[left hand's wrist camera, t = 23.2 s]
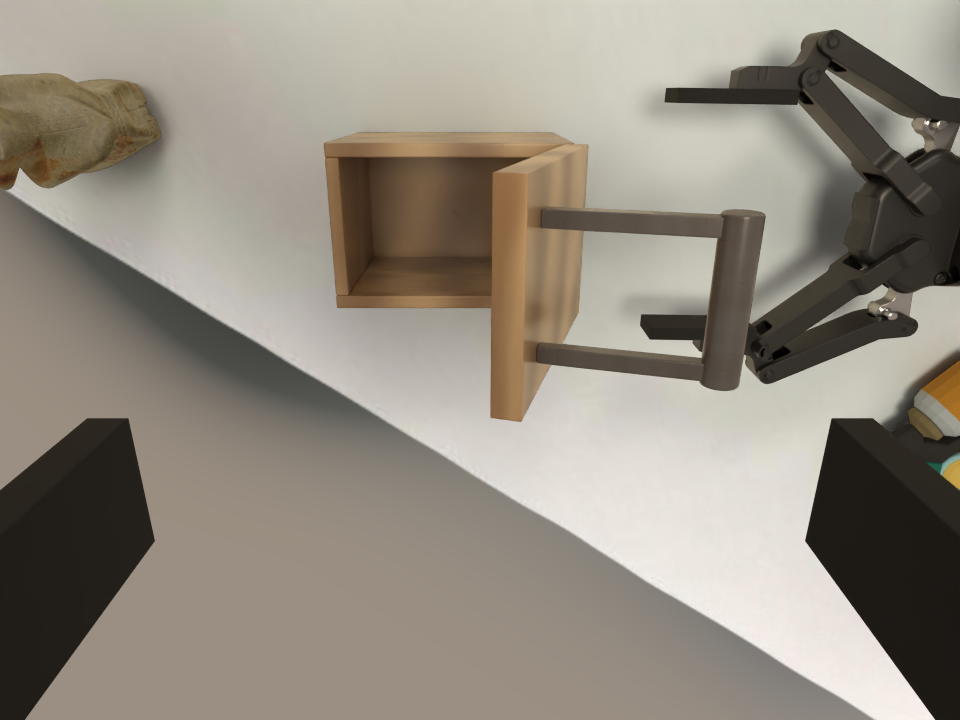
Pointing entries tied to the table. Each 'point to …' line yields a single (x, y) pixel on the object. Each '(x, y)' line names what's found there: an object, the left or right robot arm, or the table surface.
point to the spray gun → (937, 425)
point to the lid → (557, 274)
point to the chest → (418, 214)
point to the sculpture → (68, 126)
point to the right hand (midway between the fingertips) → (656, 218)
